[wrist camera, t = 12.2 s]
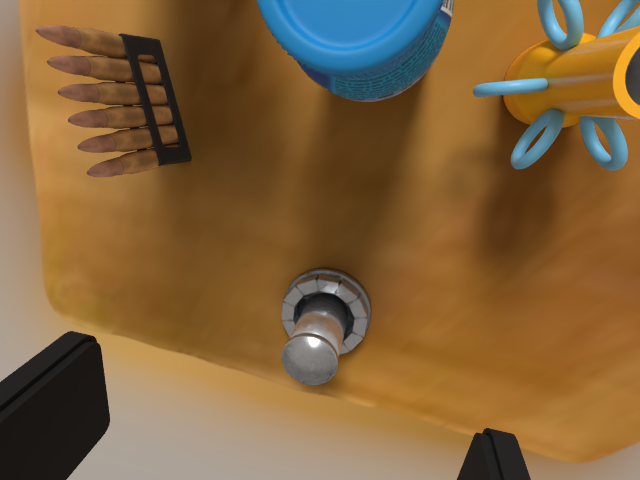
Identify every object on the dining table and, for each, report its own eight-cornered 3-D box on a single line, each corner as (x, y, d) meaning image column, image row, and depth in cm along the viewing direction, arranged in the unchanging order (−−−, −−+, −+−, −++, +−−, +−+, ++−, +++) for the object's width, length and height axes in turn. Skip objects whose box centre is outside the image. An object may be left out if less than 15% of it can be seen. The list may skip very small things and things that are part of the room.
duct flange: (269, 309, 41) (262, 321, 39) (318, 250, 38) (313, 259, 36) (336, 359, 42) (332, 373, 39) (389, 305, 38) (389, 317, 36)
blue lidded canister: (400, 119, 32) (398, 143, 14) (311, 73, 32) (191, 37, 14) (456, 13, 29) (552, -141, 10) (356, -37, 29) (279, -275, 11)
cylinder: (548, 187, 32) (661, 253, 18) (438, 124, 32) (467, 142, 18) (667, 38, 27) (948, -28, 13) (539, -35, 27) (683, -178, 13)
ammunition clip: (192, 160, 37) (103, 185, 26) (175, 162, 38) (81, 188, 27) (159, 39, 34) (42, 9, 23) (141, 44, 34) (18, 16, 23)
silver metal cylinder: (306, 287, 38) (283, 332, 31) (352, 296, 38) (340, 343, 30) (302, 327, 40) (279, 378, 33) (346, 336, 39) (333, 390, 32)
